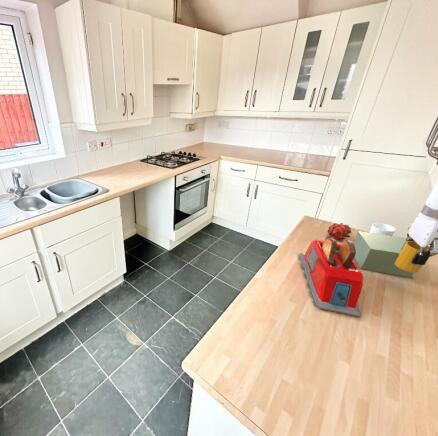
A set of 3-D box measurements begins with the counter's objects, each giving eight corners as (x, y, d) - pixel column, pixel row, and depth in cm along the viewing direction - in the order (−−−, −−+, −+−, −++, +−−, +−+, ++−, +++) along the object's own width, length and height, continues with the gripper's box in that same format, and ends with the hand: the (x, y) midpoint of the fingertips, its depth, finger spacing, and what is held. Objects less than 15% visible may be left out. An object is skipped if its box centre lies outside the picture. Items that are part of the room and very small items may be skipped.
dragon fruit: (345, 238, 122) (328, 246, 119) (334, 224, 125) (317, 231, 122) (360, 232, 114) (342, 241, 111) (348, 217, 117) (330, 225, 114)
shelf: (393, 256, 106) (404, 237, 101) (410, 277, 94) (423, 257, 90) (349, 249, 111) (358, 231, 106) (360, 268, 99) (370, 248, 95)
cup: (413, 262, 88) (425, 242, 84) (423, 274, 83) (437, 253, 79) (391, 259, 91) (402, 239, 86) (399, 270, 85) (411, 249, 81)
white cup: (369, 248, 111) (378, 230, 106) (360, 239, 118) (368, 221, 113) (389, 251, 109) (400, 232, 105) (379, 241, 116) (388, 223, 111)
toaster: (361, 318, 78) (388, 274, 69) (316, 308, 82) (335, 265, 73) (331, 259, 105) (348, 222, 96) (298, 254, 109) (311, 217, 100)
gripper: (475, 227, 68) (441, 276, 77) (437, 202, 82) (412, 246, 91) (440, 223, 71) (411, 271, 79) (409, 200, 85) (387, 242, 93)
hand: (411, 257), depth 85 cm, fingers closed on cup, 6 cm apart
